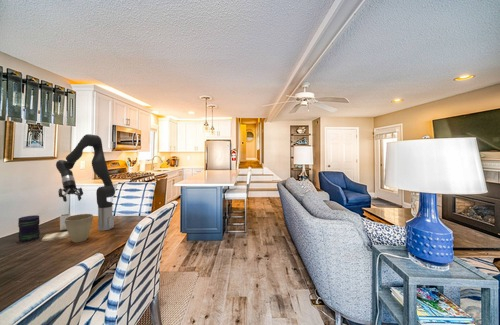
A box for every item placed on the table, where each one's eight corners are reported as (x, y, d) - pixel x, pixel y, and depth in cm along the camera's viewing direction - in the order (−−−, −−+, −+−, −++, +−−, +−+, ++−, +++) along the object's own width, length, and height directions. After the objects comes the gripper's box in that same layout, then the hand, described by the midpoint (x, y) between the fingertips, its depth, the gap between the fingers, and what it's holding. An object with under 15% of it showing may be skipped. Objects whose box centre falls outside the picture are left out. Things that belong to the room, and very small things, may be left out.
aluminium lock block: (70, 229, 161) (70, 213, 160) (69, 231, 155) (69, 215, 155) (61, 230, 158) (61, 214, 157) (59, 232, 153) (59, 216, 152)
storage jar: (24, 237, 143) (23, 216, 143) (43, 235, 147) (42, 214, 146) (14, 243, 134) (14, 220, 133) (34, 241, 137) (34, 218, 137)
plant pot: (75, 236, 147) (75, 213, 146) (98, 236, 148) (98, 213, 148) (58, 245, 132) (58, 220, 132) (83, 245, 134) (83, 220, 133)
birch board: (75, 232, 154) (75, 230, 154) (73, 236, 146) (73, 234, 146) (46, 236, 146) (46, 234, 146) (41, 241, 137) (41, 239, 137)
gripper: (58, 179, 155) (62, 199, 150) (81, 179, 168) (86, 197, 162) (55, 185, 158) (58, 204, 153) (77, 184, 170) (82, 202, 165)
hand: (72, 200), depth 158 cm, fingers open, 8 cm apart
